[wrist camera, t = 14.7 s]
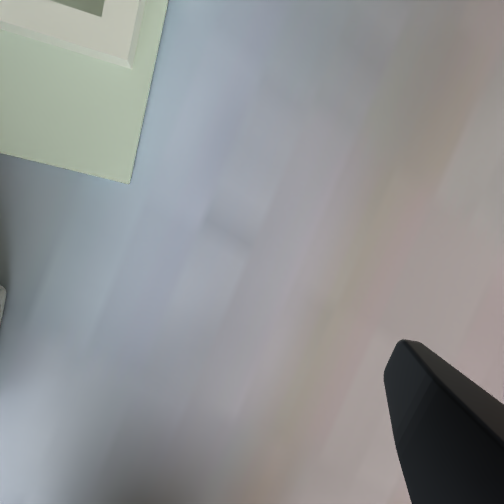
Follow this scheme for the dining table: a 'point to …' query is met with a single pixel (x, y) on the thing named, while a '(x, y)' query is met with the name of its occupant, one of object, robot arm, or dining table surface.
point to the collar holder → (77, 81)
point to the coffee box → (2, 300)
